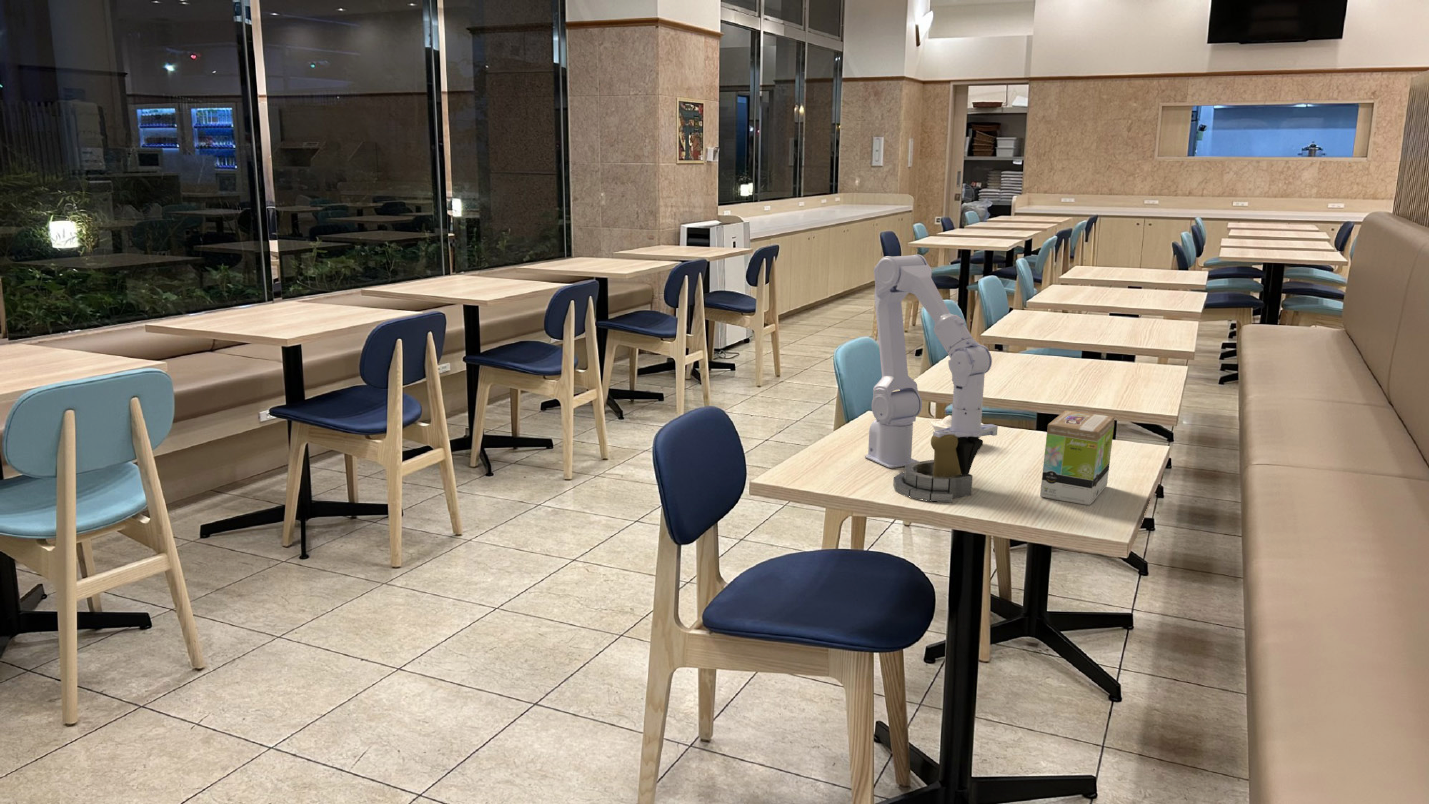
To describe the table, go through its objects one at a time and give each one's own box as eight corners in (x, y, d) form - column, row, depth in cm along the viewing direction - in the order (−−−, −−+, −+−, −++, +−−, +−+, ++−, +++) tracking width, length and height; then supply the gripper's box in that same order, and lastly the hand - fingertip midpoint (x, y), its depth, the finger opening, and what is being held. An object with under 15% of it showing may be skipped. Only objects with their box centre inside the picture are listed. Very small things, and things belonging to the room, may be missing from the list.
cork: (964, 490, 204) (960, 437, 201) (933, 492, 205) (928, 439, 202) (962, 478, 210) (958, 426, 207) (931, 480, 211) (927, 429, 208)
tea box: (1092, 507, 197) (1100, 431, 194) (1038, 497, 202) (1044, 423, 199) (1108, 486, 210) (1115, 414, 206) (1057, 478, 215) (1063, 408, 212)
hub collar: (878, 483, 210) (879, 464, 209) (926, 475, 215) (927, 457, 214) (927, 506, 196) (929, 486, 195) (977, 498, 202) (979, 478, 201)
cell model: (989, 450, 235) (991, 421, 234) (936, 450, 235) (937, 420, 233) (976, 438, 245) (978, 410, 244) (925, 438, 245) (927, 410, 243)
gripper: (950, 415, 199) (946, 483, 202) (1009, 407, 206) (1004, 474, 209) (927, 407, 206) (924, 473, 209) (985, 400, 212) (981, 464, 215)
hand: (962, 473), depth 209 cm, fingers closed
